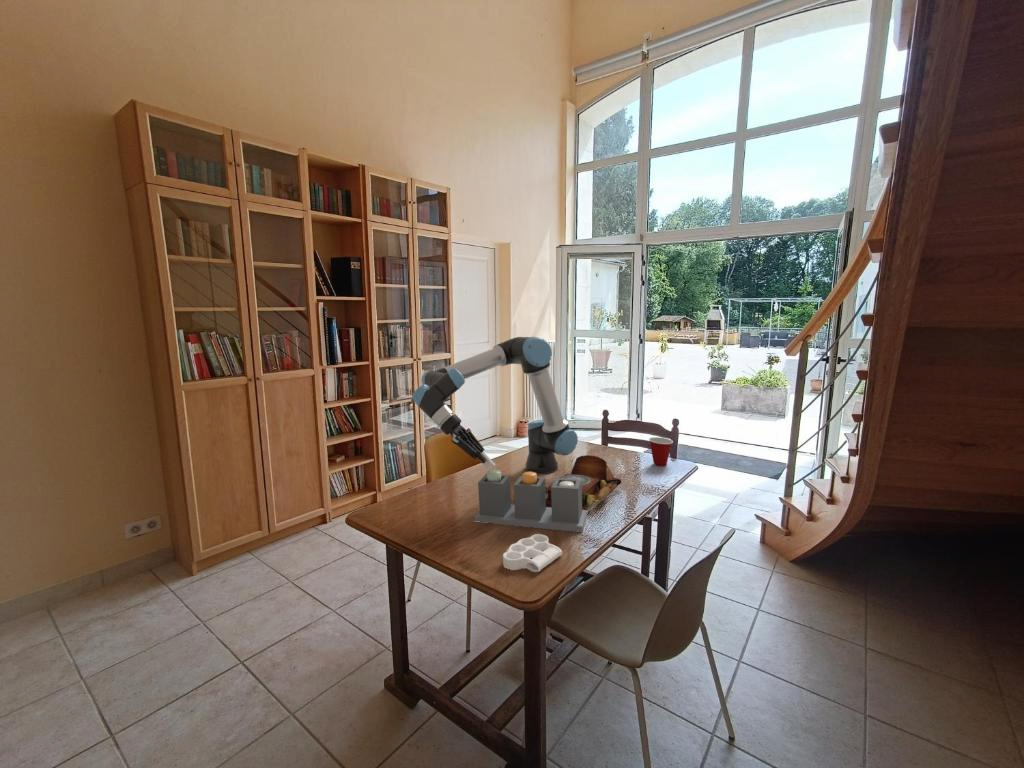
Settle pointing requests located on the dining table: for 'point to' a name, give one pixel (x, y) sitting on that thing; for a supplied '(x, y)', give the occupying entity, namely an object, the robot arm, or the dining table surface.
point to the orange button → (529, 478)
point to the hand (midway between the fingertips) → (492, 467)
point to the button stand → (532, 504)
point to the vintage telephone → (590, 480)
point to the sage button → (494, 476)
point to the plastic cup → (660, 450)
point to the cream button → (566, 484)
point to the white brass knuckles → (531, 553)
